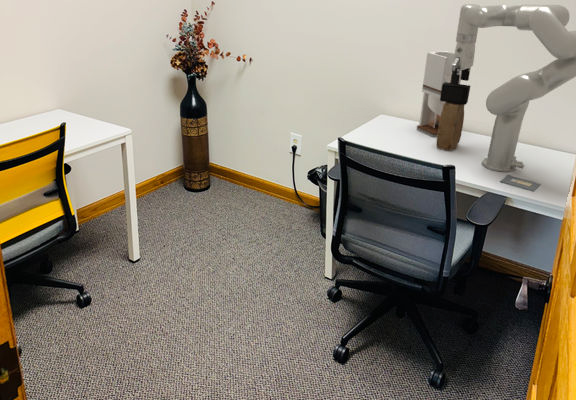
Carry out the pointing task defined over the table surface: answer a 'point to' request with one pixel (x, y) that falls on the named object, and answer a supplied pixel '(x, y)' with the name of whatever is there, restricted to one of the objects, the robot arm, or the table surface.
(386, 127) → the table surface
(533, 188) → the card
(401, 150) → the table surface
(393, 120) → the table surface
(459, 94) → the digital camera
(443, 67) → the toilet paper holder
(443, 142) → the brown rounded lump
